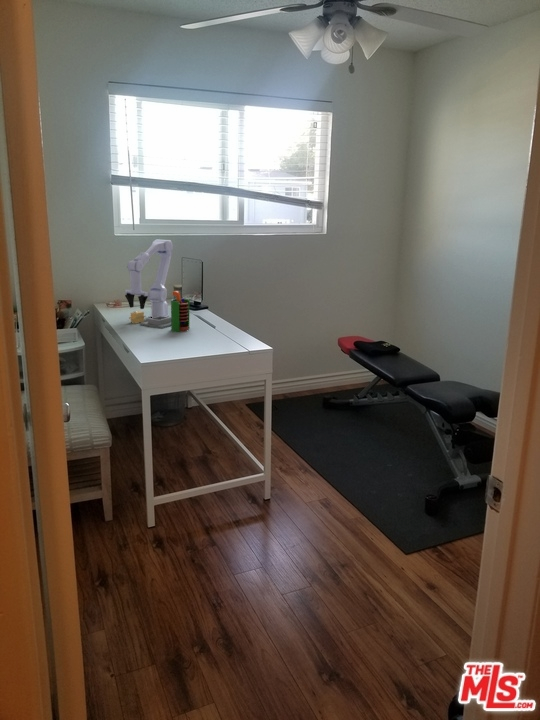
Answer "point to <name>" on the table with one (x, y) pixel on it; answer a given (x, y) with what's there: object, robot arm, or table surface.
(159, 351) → the table surface
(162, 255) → the robot arm
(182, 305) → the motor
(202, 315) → the table surface
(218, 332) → the table surface
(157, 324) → the chassis plate
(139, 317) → the yellow block
